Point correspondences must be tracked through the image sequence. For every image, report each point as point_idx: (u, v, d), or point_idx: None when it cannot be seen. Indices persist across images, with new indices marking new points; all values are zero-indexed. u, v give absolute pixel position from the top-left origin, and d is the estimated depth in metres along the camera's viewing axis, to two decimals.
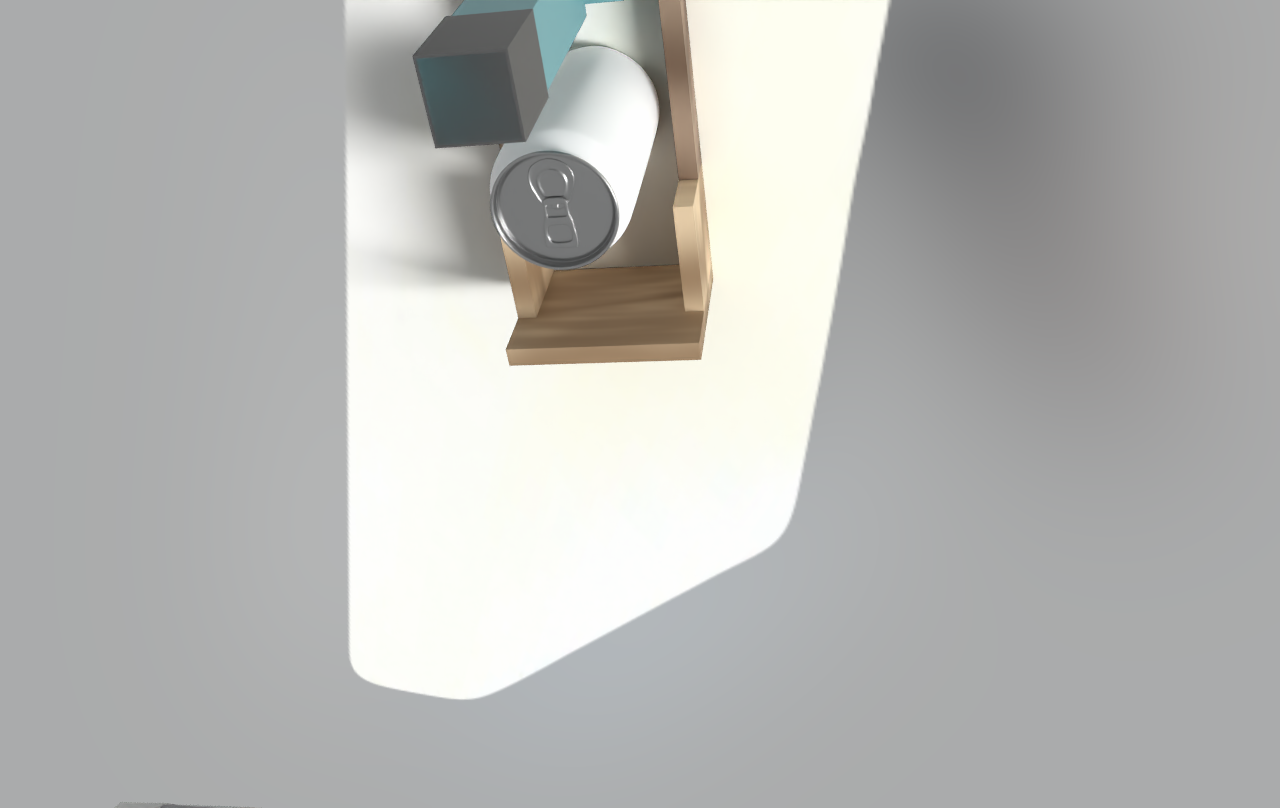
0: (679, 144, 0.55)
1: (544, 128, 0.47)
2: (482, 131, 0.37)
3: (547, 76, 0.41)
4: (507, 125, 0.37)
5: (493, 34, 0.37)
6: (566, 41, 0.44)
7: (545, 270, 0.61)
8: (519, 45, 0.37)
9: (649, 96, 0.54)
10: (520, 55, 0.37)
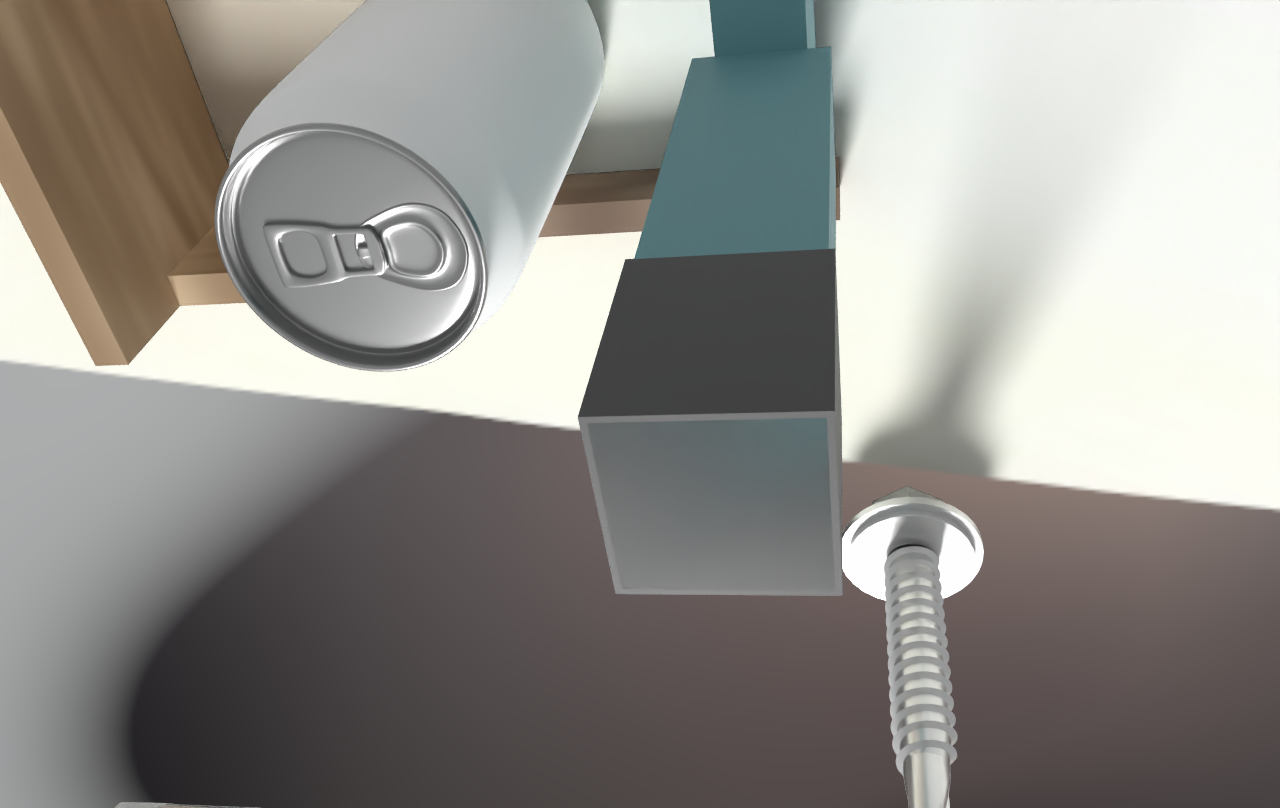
0: None
1: (517, 204, 0.23)
2: (634, 520, 0.15)
3: None
4: (653, 568, 0.15)
5: (840, 478, 0.16)
6: None
7: None
8: None
9: None
10: None
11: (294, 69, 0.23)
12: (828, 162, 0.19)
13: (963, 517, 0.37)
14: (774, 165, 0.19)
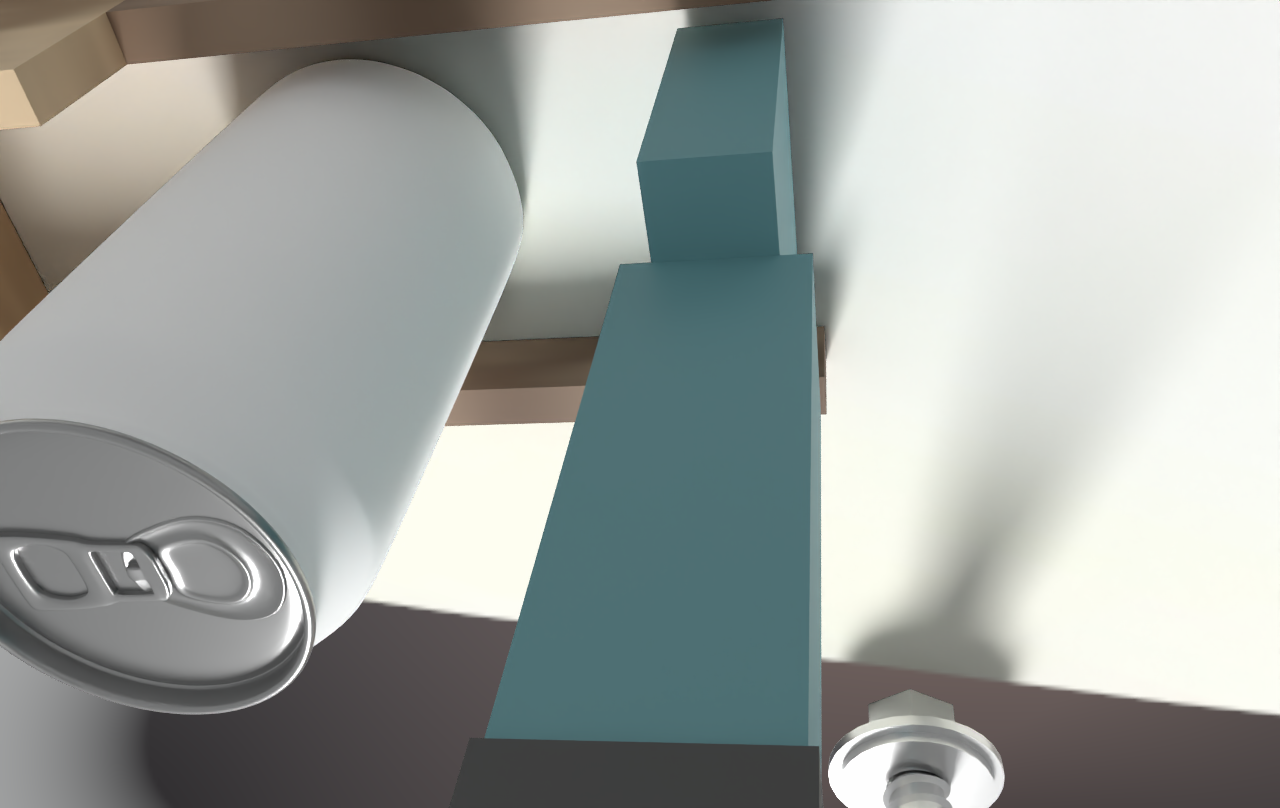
0: None
1: (362, 498, 0.16)
2: None
3: None
4: None
5: None
6: None
7: None
8: None
9: None
10: None
11: (46, 298, 0.16)
12: (808, 506, 0.12)
13: (980, 741, 0.30)
14: (725, 507, 0.12)
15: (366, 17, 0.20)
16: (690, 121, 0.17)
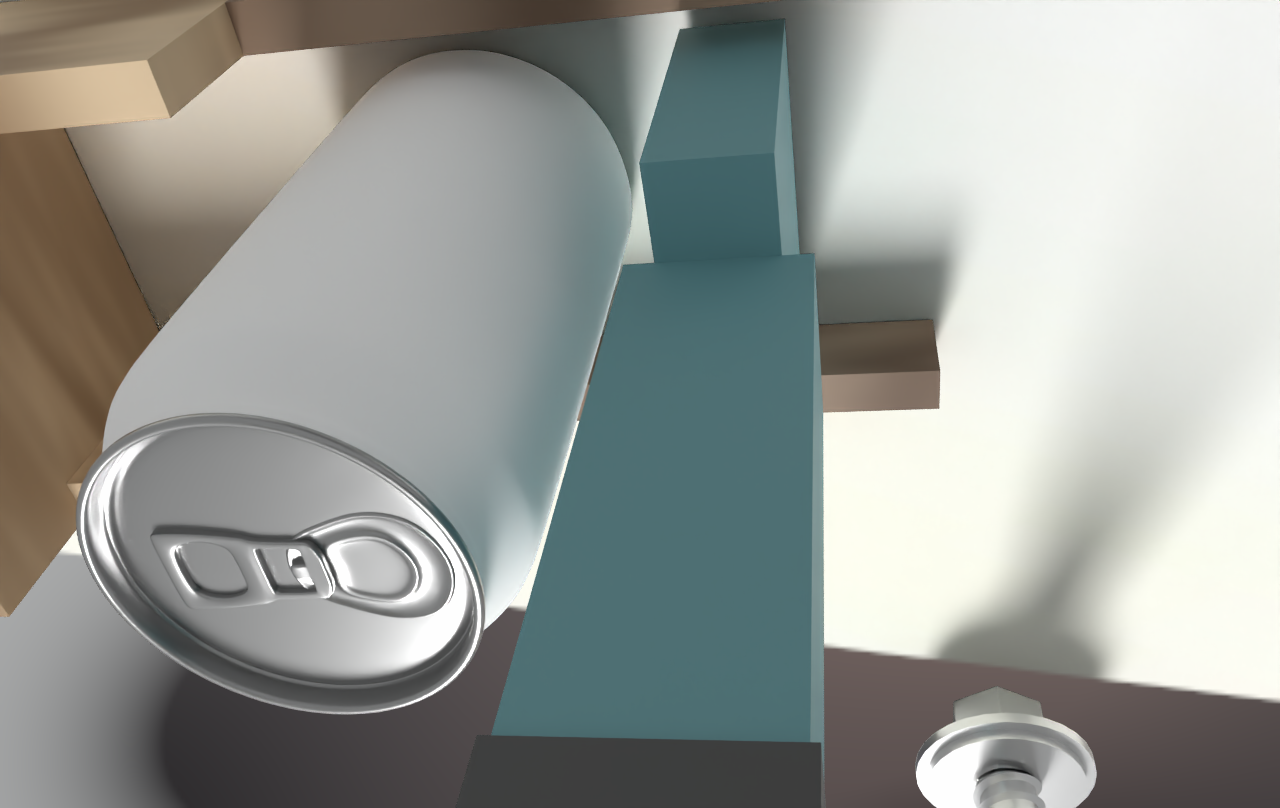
0: None
1: (527, 493, 0.15)
2: None
3: None
4: None
5: None
6: None
7: None
8: None
9: None
10: None
11: (200, 291, 0.16)
12: (810, 506, 0.12)
13: (1074, 738, 0.30)
14: (728, 507, 0.13)
15: (492, 6, 0.20)
16: (692, 122, 0.17)
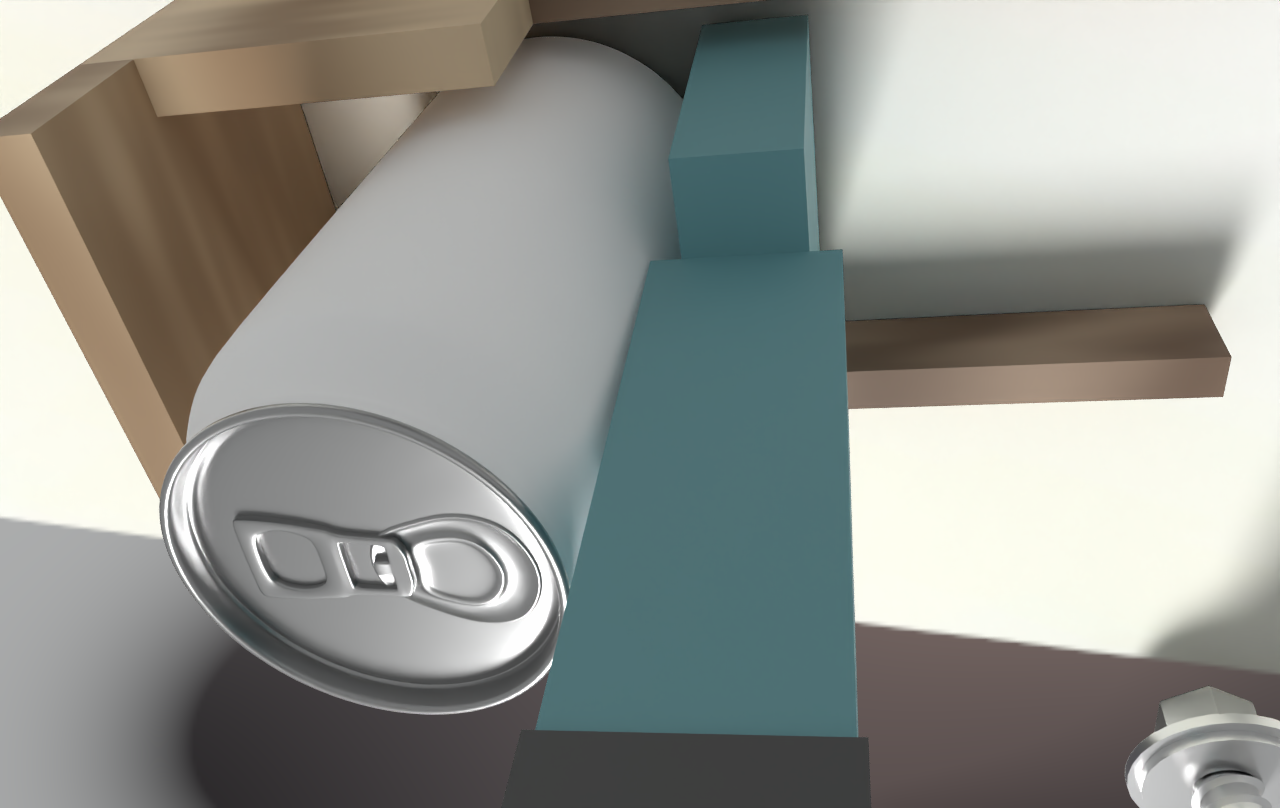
0: None
1: None
2: None
3: None
4: None
5: None
6: None
7: None
8: None
9: None
10: None
11: (295, 272, 0.15)
12: (847, 501, 0.12)
13: None
14: (765, 503, 0.13)
15: None
16: (720, 118, 0.17)
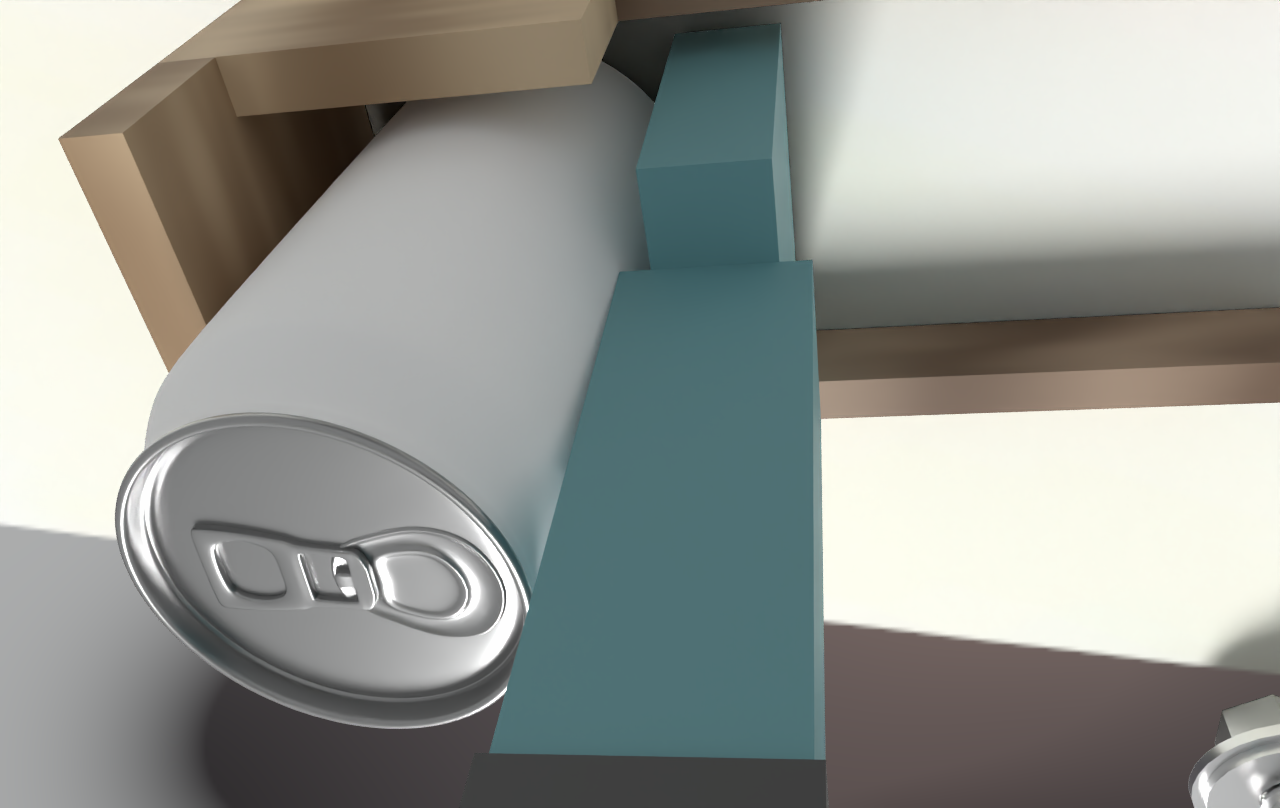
0: None
1: None
2: None
3: None
4: None
5: None
6: None
7: None
8: None
9: None
10: None
11: (260, 277, 0.15)
12: (811, 516, 0.12)
13: None
14: (728, 517, 0.12)
15: None
16: (689, 128, 0.17)
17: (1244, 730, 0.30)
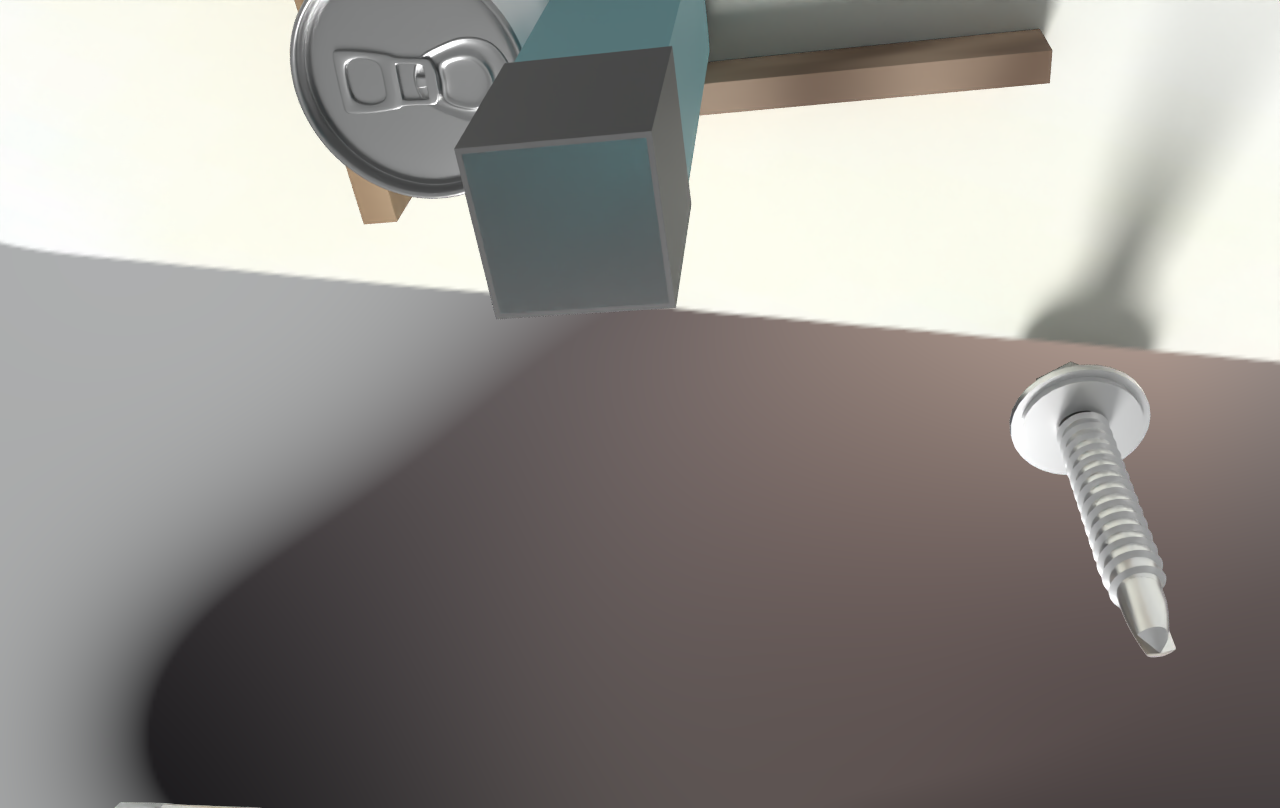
0: None
1: None
2: (506, 246, 0.19)
3: None
4: (524, 291, 0.19)
5: (676, 224, 0.20)
6: None
7: None
8: None
9: None
10: None
11: None
12: (679, 0, 0.23)
13: (1134, 382, 0.39)
14: (636, 4, 0.23)
15: None
16: None
17: None
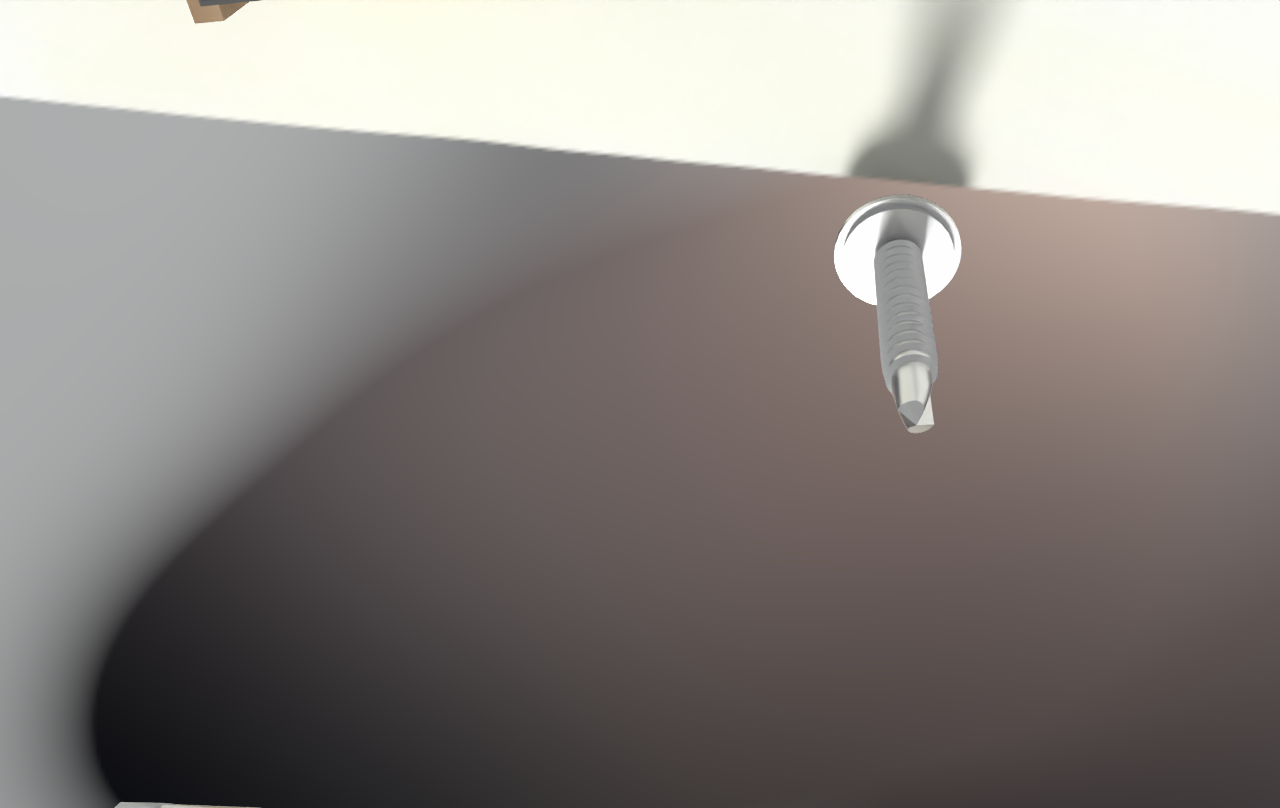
0: None
1: None
2: None
3: None
4: None
5: None
6: None
7: None
8: None
9: None
10: None
11: None
12: None
13: (943, 211, 0.42)
14: None
15: None
16: None
17: None
